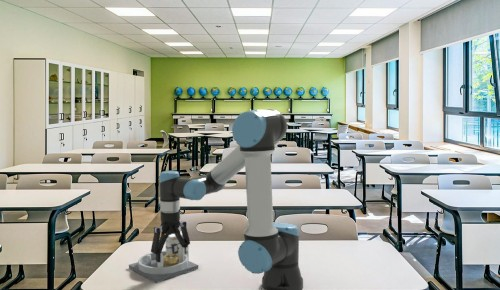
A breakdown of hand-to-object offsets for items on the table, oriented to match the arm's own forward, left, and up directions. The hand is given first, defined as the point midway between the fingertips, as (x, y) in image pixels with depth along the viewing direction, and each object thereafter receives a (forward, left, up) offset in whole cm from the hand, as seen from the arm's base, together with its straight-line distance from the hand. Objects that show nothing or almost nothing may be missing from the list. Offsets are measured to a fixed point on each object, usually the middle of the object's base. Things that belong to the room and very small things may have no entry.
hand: (171, 266), depth 183 cm
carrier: (+6, 0, -3) cm, 6 cm away
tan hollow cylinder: (0, 0, -1) cm, 1 cm away
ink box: (+9, -9, -3) cm, 13 cm away
